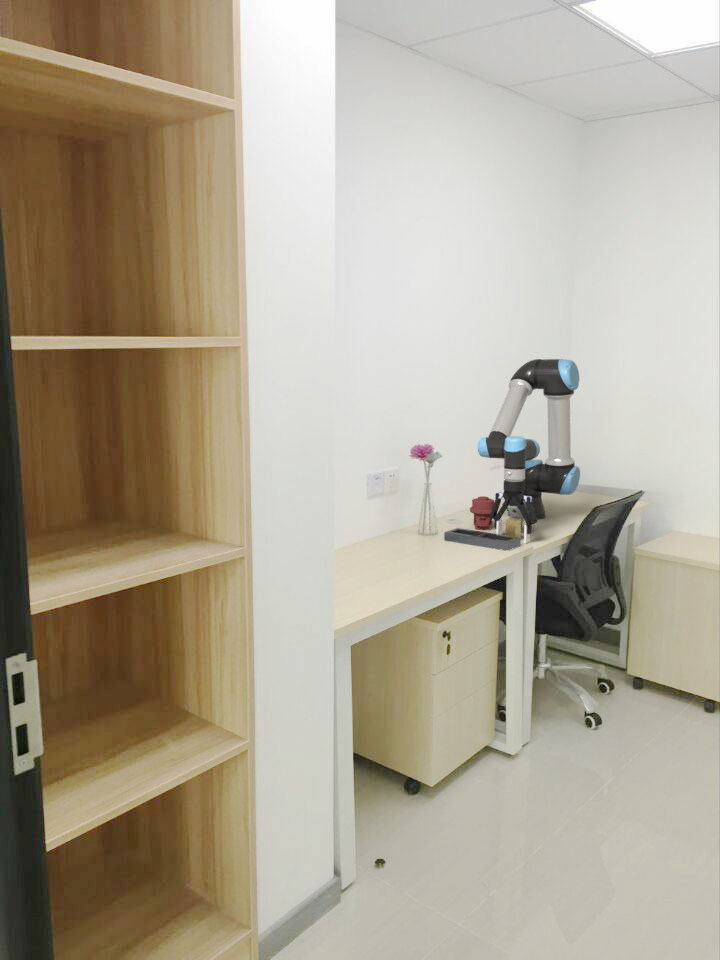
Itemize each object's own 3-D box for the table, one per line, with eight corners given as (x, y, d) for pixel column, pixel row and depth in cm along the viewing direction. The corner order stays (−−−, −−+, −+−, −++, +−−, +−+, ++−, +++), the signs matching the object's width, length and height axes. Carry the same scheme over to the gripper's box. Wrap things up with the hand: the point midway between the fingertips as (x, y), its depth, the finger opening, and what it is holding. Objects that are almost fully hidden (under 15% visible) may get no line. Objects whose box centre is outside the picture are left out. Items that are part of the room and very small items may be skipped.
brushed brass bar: (510, 539, 306) (511, 517, 305) (520, 540, 303) (520, 518, 302) (505, 541, 303) (505, 519, 302) (515, 542, 300) (515, 520, 299)
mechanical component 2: (500, 530, 321) (477, 532, 317) (487, 525, 330) (465, 527, 326) (501, 498, 319) (478, 500, 315) (488, 494, 328) (465, 496, 324)
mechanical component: (533, 534, 313) (534, 508, 312) (506, 533, 315) (506, 507, 314) (533, 532, 316) (534, 506, 314) (506, 531, 318) (507, 505, 316)
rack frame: (457, 535, 311) (457, 527, 311) (520, 545, 295) (520, 537, 295) (444, 540, 304) (444, 532, 304) (507, 550, 288) (508, 542, 288)
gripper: (481, 478, 304) (479, 537, 307) (538, 484, 290) (536, 546, 293) (491, 475, 310) (490, 534, 313) (548, 481, 295) (546, 542, 299)
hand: (512, 540), depth 303 cm, fingers open, 10 cm apart
